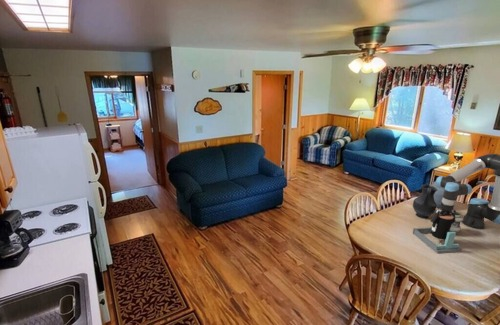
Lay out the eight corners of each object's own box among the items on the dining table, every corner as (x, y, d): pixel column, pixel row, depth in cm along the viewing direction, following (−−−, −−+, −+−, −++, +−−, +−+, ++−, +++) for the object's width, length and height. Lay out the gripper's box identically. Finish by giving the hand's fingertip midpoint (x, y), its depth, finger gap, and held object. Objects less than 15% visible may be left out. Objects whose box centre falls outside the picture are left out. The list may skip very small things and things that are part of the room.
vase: (430, 210, 251) (436, 186, 243) (421, 201, 269) (426, 178, 261) (453, 212, 248) (460, 187, 240) (443, 202, 266) (449, 179, 258)
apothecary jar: (439, 232, 216) (444, 212, 210) (442, 226, 224) (447, 207, 218) (458, 238, 208) (463, 218, 202) (460, 232, 216) (465, 212, 211)
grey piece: (435, 231, 217) (436, 227, 215) (461, 251, 193) (463, 246, 192) (412, 233, 215) (413, 228, 213) (436, 253, 191) (438, 248, 190)
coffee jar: (450, 241, 195) (456, 219, 189) (434, 239, 197) (439, 217, 191) (443, 232, 205) (449, 211, 199) (428, 231, 207) (433, 210, 201)
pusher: (456, 248, 196) (461, 231, 191) (458, 250, 194) (463, 232, 189) (435, 250, 194) (440, 232, 189) (437, 251, 192) (442, 233, 188)
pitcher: (433, 214, 243) (440, 184, 234) (433, 225, 226) (441, 192, 217) (411, 209, 252) (417, 180, 242) (410, 219, 235) (416, 188, 226)
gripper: (457, 200, 197) (450, 226, 204) (428, 201, 194) (422, 228, 201) (466, 205, 190) (459, 232, 197) (436, 206, 187) (429, 234, 194)
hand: (440, 230), depth 199 cm, fingers closed on coffee jar, 11 cm apart
